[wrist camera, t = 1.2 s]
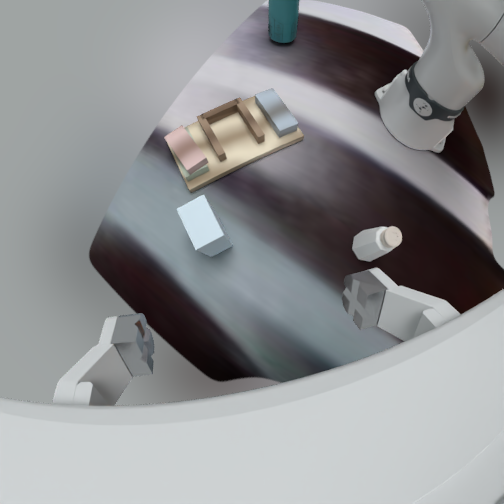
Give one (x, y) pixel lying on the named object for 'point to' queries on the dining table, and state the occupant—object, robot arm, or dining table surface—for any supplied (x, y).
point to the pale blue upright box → (204, 227)
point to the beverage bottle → (283, 20)
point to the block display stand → (232, 137)
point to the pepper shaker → (376, 242)
